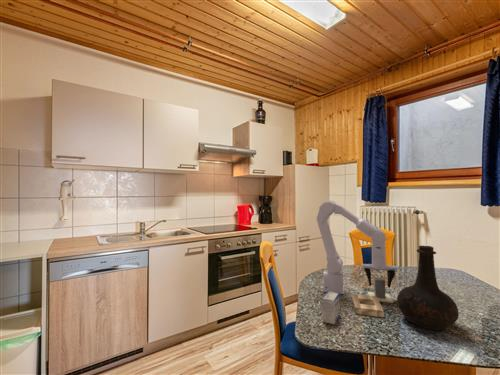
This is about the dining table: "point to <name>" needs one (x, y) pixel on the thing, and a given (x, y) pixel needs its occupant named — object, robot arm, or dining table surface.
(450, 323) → the glass bottle
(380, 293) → the square peg
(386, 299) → the pad
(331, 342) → the dining table surface
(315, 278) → the dining table surface
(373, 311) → the rail plate
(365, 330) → the dining table surface
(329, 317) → the medicine box
